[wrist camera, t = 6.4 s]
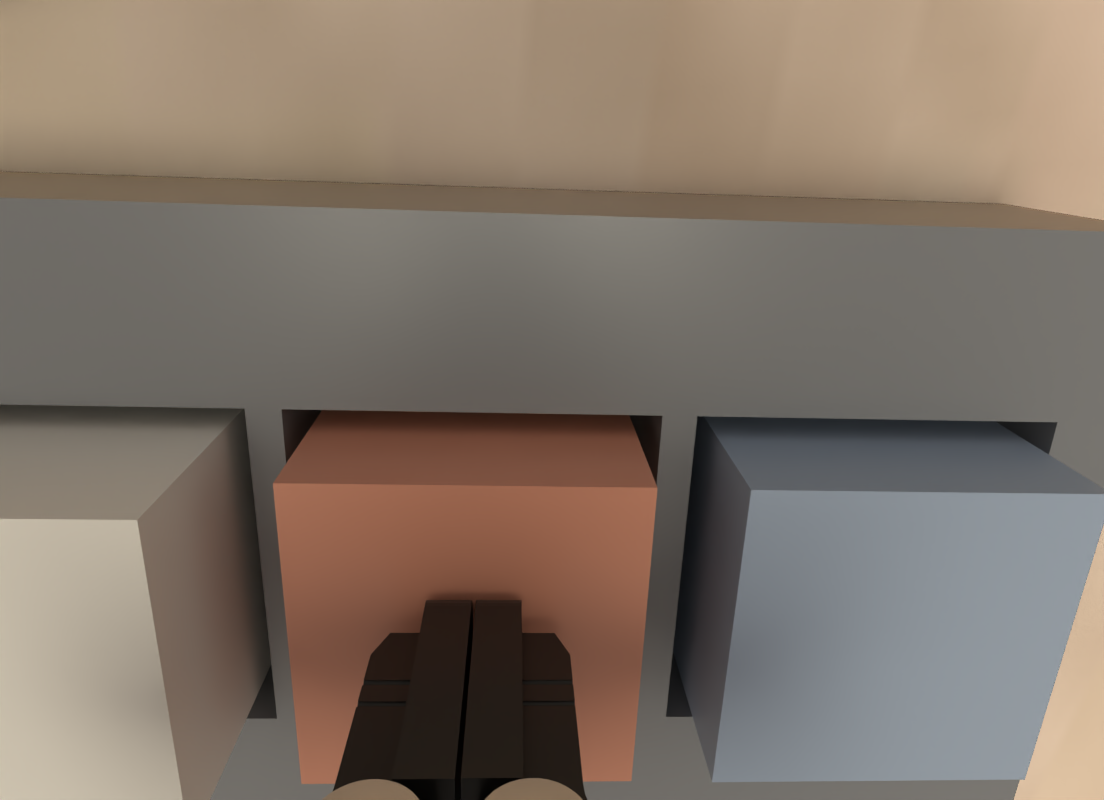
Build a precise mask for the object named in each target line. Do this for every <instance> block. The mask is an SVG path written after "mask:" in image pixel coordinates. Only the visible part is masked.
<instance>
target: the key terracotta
mask: <svg viewBox="0 0 1104 800" xmlns="http://www.w3.org/2000/svg"><path fill="white" fill-rule="evenodd" d="M273 490H274V501H275V511H276V522H277V532H278V543H279V553H280V564H281V574H282V585H283V595H284V606H285V616H286V626H287V637H288V647H289V658H290V668H291V679H292V689H293V700H294V710H295V721H296V731H297V742H298V752H299V763H300V773H301V784H335V782H336V778H337V775H338V771H339V768H340V764H341V760H342V757H343V753H344V749H345V746H346V742H347V738H348V735H349V731H350V728H351V724H352V720H353V717H354V713H355V709H356V707H357V706H358V699H359V695H360V691H361V688H362V685H363V683H364V677H365V673H366V670H367V666H368V662H369V659H370V655H371V654H372V653H373V651H374V650H375V649H376V648H377V647H378V646H379V645H380V644H381V643H382V641H383V640H384V639H385V638H386V637H387V636H388V635H389V634H390V633H420V628H421V623H422V617H423V612H424V607H425V602H426V600H472V602H473V630H474V619H475V607H476V600H521V601H522V633H555V634H556V636H557V637H558V638H559V640H560V641H561V643H562V644H563V645H564V647H565V648H566V650H567V651H568V652H569V654H570V658H571V668H572V678H573V688H574V697H575V707H576V717H577V727H578V737H579V747H580V757H581V767H582V777H583V782H592V781H631V780H632V768H633V757H634V746H635V735H636V724H637V712H638V701H639V690H640V679H641V668H642V656H643V645H644V634H645V623H646V611H647V600H648V589H649V578H650V567H651V555H652V544H653V533H654V522H655V511H656V499H657V485H656V483H655V480H654V477H653V475H652V472H651V470H650V467H649V465H648V462H647V460H646V457H645V454H644V452H643V449H642V447H641V444H640V442H639V439H638V436H637V434H636V431H635V429H634V426H633V424H632V421H631V419H630V416H629V415H592V414H533V413H473V412H414V411H355V410H322V411H321V413H320V414H319V416H318V417H317V419H316V420H315V422H314V423H313V425H312V426H311V427H310V429H309V430H308V432H307V433H306V435H305V436H304V438H303V439H302V441H301V442H300V444H299V445H298V447H297V448H296V450H295V451H294V453H293V454H292V456H291V457H290V459H289V460H288V462H287V463H286V464H285V466H284V467H283V469H282V470H281V472H280V473H279V475H278V476H277V478H276V479H275V481H274V482H273Z"/></svg>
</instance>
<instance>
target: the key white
mask: <svg viewBox="0 0 1104 800" xmlns="http://www.w3.org/2000/svg"><path fill="white" fill-rule="evenodd" d="M270 666H271V655H270V646H269V636H268V627H267V617H266V608H265V598H264V589H263V579H262V570H261V560H260V551H259V541H258V532H257V522H256V513H255V503H254V494H253V484H252V475H251V465H250V456H249V446H248V437H247V427H246V418H245V409H236V408H177V407H118V406H59V405H0V800H210V798H211V796H212V794H213V792H214V790H215V787H216V785H217V783H218V781H219V779H220V776H221V774H222V772H223V770H224V767H225V765H226V763H227V761H228V759H229V756H230V754H231V752H232V750H233V748H234V745H235V743H236V741H237V739H238V736H239V734H240V732H241V730H242V728H243V725H244V723H245V721H246V719H247V717H248V714H249V712H250V710H251V708H252V706H253V703H254V701H255V699H256V697H257V694H258V692H259V690H260V688H261V686H262V683H263V681H264V679H265V677H266V675H267V672H268V670H269V668H270Z"/></svg>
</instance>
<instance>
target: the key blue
mask: <svg viewBox="0 0 1104 800" xmlns="http://www.w3.org/2000/svg"><path fill="white" fill-rule="evenodd" d="M1103 524H1104V489H1103V488H1102V487H1100V486H1099V485H1097V484H1095V483H1094V482H1092V481H1091V480H1089V479H1087V478H1086V477H1084V476H1082V475H1081V474H1079V473H1078V472H1076V471H1074V470H1073V469H1071V468H1070V467H1068V466H1066V465H1065V464H1063V463H1061V462H1060V461H1058V460H1057V459H1055V458H1053V457H1052V456H1050V455H1049V454H1047V453H1045V452H1044V451H1042V450H1041V449H1039V448H1037V447H1036V446H1034V445H1032V444H1031V443H1029V442H1028V441H1026V440H1024V439H1023V438H1021V437H1020V436H1018V435H1016V434H1015V433H1013V432H1012V431H1010V430H1008V429H1007V428H1005V427H1003V426H1002V425H1000V424H999V423H997V422H995V421H947V420H888V419H829V418H770V417H710V416H697V425H696V434H695V444H694V453H693V463H692V472H691V482H690V492H689V501H688V511H687V520H686V530H685V539H684V549H683V558H682V568H681V577H680V587H679V597H678V606H677V616H676V625H675V635H674V644H673V653H674V656H675V660H676V663H677V667H678V670H679V673H680V677H681V680H682V683H683V687H684V690H685V693H686V697H687V700H688V703H689V707H690V710H691V713H692V717H693V720H694V723H695V727H696V730H697V734H698V737H699V740H700V744H701V747H702V750H703V754H704V757H705V760H706V764H707V767H708V770H709V774H710V777H711V780H712V782H798V781H912V780H1025V777H1026V774H1027V770H1028V767H1029V764H1030V761H1031V757H1032V754H1033V751H1034V748H1035V745H1036V741H1037V738H1038V735H1039V732H1040V728H1041V725H1042V722H1043V719H1044V715H1045V712H1046V709H1047V706H1048V702H1049V699H1050V696H1051V693H1052V689H1053V686H1054V683H1055V680H1056V677H1057V673H1058V670H1059V667H1060V664H1061V660H1062V657H1063V654H1064V651H1065V647H1066V644H1067V641H1068V638H1069V634H1070V631H1071V628H1072V625H1073V621H1074V618H1075V615H1076V612H1077V609H1078V605H1079V602H1080V599H1081V596H1082V592H1083V589H1084V586H1085V583H1086V579H1087V576H1088V573H1089V570H1090V566H1091V563H1092V560H1093V557H1094V553H1095V550H1096V547H1097V544H1098V541H1099V537H1100V534H1101V531H1102V528H1103Z"/></svg>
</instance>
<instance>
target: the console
mask: <svg viewBox="0 0 1104 800" xmlns="http://www.w3.org/2000/svg"><path fill="white" fill-rule="evenodd" d="M0 405H59V406H118V407H177V408H236V409H245V418H246V427H247V437H248V446H249V456H250V465H251V475H252V484H253V494H254V503H255V513H256V522H257V532H258V541H259V551H260V560H261V570H262V579H263V589H264V598H265V608H266V617H267V627H268V636H269V646H270V655H271V666H270V668H269V670H268V672H267V675H266V677H265V679H264V681H263V683H262V686H261V688H260V690H259V692H258V694H257V697H256V699H255V701H254V703H253V706H252V708H251V710H250V712H249V714H248V717H247V719H246V721H245V723H244V725H243V728H242V730H241V732H240V734H239V736H238V739H237V741H236V743H235V745H234V748H233V750H232V752H231V754H230V756H229V759H228V761H227V763H226V765H225V767H224V770H223V772H222V774H221V776H220V779H219V781H218V783H217V785H216V787H215V790H214V792H213V794H212V796H211V798H210V800H322V799H323V798H325V797H326V796H327V795H328V794H330V793H331V792H332V791H333V789H334V786H335V784H301V773H300V763H299V752H298V742H297V731H296V721H295V710H294V700H293V689H292V679H291V668H290V658H289V647H288V637H287V626H286V616H285V606H284V595H283V585H282V574H281V564H280V553H279V543H278V532H277V522H276V511H275V501H274V490H273V482H274V481H275V479H276V478H277V476H278V475H279V473H280V472H281V470H282V469H283V467H284V466H285V464H286V463H287V462H288V460H289V459H290V457H291V456H292V454H293V453H294V451H295V450H296V448H297V447H298V445H299V444H300V442H301V441H302V439H303V438H304V436H305V435H306V433H307V432H308V430H309V429H310V427H311V426H312V425H313V423H314V422H315V420H316V419H317V417H318V416H319V414H320V413H321V411H322V410H355V411H414V412H473V413H533V414H592V415H629V416H630V419H631V421H632V424H633V426H634V429H635V431H636V434H637V436H638V439H639V442H640V444H641V447H642V449H643V452H644V454H645V457H646V460H647V462H648V465H649V467H650V470H651V472H652V475H653V477H654V480H655V483H656V485H657V499H656V511H655V522H654V533H653V544H652V555H651V567H650V578H649V589H648V600H647V611H646V623H645V634H644V645H643V656H642V668H641V679H640V690H639V701H638V712H637V724H636V735H635V746H634V757H633V768H632V780H631V781H592V782H583V786H584V791H585V795H586V797H587V800H1014V796H1015V793H1016V790H1017V787H1018V783H1019V780H912V781H798V782H712V780H711V777H710V774H709V770H708V767H707V764H706V760H705V757H704V754H703V750H702V747H701V744H700V740H699V737H698V734H697V730H696V727H695V723H694V720H693V717H692V713H691V710H690V707H689V703H688V700H687V697H686V693H685V690H684V687H683V683H682V680H681V677H680V673H679V670H678V667H677V663H676V660H675V656H674V653H673V644H674V635H675V625H676V616H677V606H678V597H679V587H680V577H681V568H682V558H683V549H684V539H685V530H686V520H687V511H688V501H689V492H690V482H691V472H692V463H693V453H694V444H695V434H696V425H697V416H710V417H770V418H829V419H888V420H947V421H995V422H997V423H999V424H1000V425H1002V426H1003V427H1005V428H1007V429H1008V430H1010V431H1012V432H1013V433H1015V434H1016V435H1018V436H1020V437H1021V438H1023V439H1024V440H1026V441H1028V442H1029V443H1031V444H1032V445H1034V446H1036V447H1037V448H1039V449H1041V450H1042V451H1044V452H1045V453H1047V454H1049V455H1050V456H1052V457H1053V458H1055V459H1057V460H1058V461H1060V462H1061V463H1063V464H1065V465H1066V466H1068V467H1070V468H1071V469H1073V470H1074V471H1076V472H1078V473H1079V474H1081V475H1082V476H1084V477H1086V478H1087V479H1089V480H1091V481H1092V482H1094V483H1095V484H1097V485H1099V486H1100V487H1102V488H1103V489H1104V220H1098V219H1092V218H1086V217H1080V216H1074V215H1068V214H1062V213H1055V212H1049V211H1043V210H1037V209H1031V208H1025V207H1019V206H1013V205H1007V204H990V203H959V202H928V201H897V200H866V199H836V198H805V197H774V196H743V195H712V194H682V193H651V192H620V191H589V190H559V189H528V188H497V187H466V186H435V185H405V184H374V183H343V182H312V181H282V180H251V179H220V178H189V177H158V176H128V175H97V174H66V173H35V172H4V171H0Z"/></svg>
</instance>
